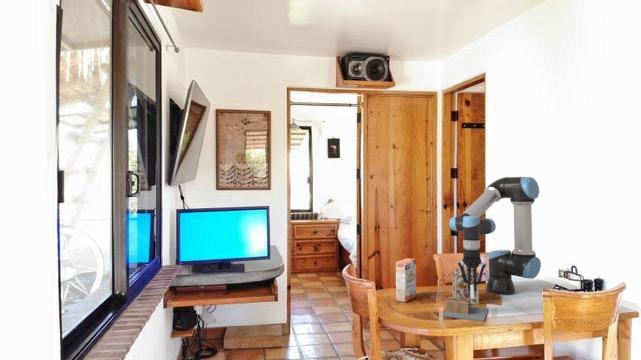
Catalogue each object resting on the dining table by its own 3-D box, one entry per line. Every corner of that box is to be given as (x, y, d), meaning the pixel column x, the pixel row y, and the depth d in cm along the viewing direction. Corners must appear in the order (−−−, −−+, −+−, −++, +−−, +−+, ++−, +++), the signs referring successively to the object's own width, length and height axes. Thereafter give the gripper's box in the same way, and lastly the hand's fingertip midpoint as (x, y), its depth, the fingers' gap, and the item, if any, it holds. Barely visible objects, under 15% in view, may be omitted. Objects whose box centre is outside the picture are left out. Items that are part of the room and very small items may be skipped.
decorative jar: (479, 305, 205) (478, 269, 205) (455, 304, 207) (454, 269, 207) (475, 298, 216) (474, 264, 216) (452, 297, 219) (451, 264, 219)
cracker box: (406, 303, 210) (405, 263, 210) (395, 301, 213) (394, 261, 213) (417, 296, 221) (416, 258, 221) (407, 295, 225) (406, 257, 225)
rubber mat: (450, 304, 206) (450, 303, 206) (488, 309, 198) (488, 307, 198) (442, 316, 189) (442, 315, 189) (484, 321, 180) (483, 320, 180)
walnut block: (470, 309, 197) (449, 306, 201) (470, 298, 197) (449, 296, 201) (468, 314, 189) (446, 311, 193) (467, 303, 189) (445, 301, 193)
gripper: (456, 248, 192) (457, 298, 192) (485, 250, 186) (486, 301, 186) (458, 246, 198) (459, 294, 198) (487, 248, 192) (488, 297, 192)
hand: (472, 297), depth 192 cm, fingers closed
